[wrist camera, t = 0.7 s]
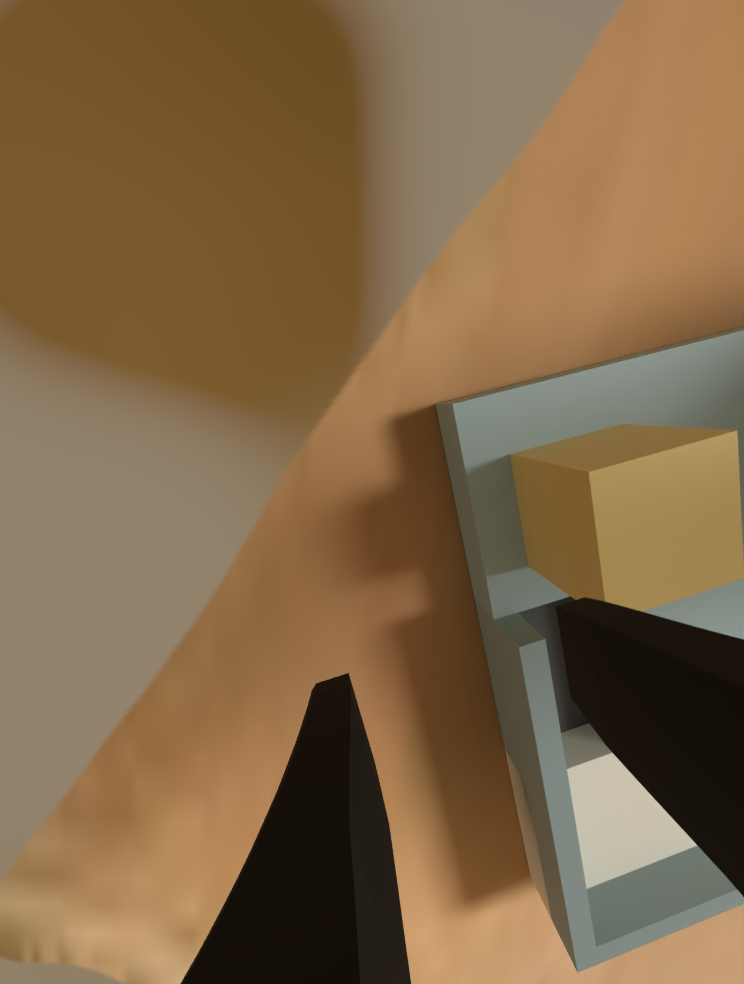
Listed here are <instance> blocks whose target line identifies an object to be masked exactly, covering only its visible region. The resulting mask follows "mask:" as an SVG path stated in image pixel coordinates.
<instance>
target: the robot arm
mask: <svg viewBox="0 0 744 984" xmlns="http://www.w3.org/2000/svg"><path fill="white" fill-rule="evenodd" d="M556 612H557V618H558V624H559V630H560V636H561V643H562V649H563V655H564V661H565V667H566V673H567V679H568V685H569V691H570V697H571V698H572V700H573V701H574V702H575V704H576V705H577V707H578V708H579V710H580V711H581V712H582V714H583V715H584V717H585V718H586V719H587V721H588V722H589V724H590V725H591V726H592V728H593V729H594V730H595V732H596V733H597V734H598V736H599V737H600V738H601V740H602V741H603V742H604V743H605V745H606V746H607V747H608V748H609V750H610V751H611V752H612V753H613V754H614V755H615V756H616V757H617V758H618V760H619V761H620V762H621V763H622V764H623V765H624V766H625V767H626V768H627V769H628V771H629V772H630V773H631V774H632V775H633V776H634V777H635V778H636V779H637V780H638V782H639V783H640V784H641V785H642V786H643V787H644V788H645V789H646V790H647V791H648V793H649V794H650V795H651V796H652V797H653V798H654V799H655V800H656V801H657V802H658V803H659V804H660V806H661V807H662V808H663V809H664V810H665V811H666V812H667V813H668V814H669V815H670V816H671V817H672V819H673V820H674V821H675V822H676V823H677V824H678V825H679V826H680V827H681V828H682V829H683V830H684V832H685V833H686V834H687V835H688V836H689V837H690V838H691V839H692V840H693V841H694V842H695V843H696V845H697V846H698V847H699V848H700V849H701V850H702V851H703V852H704V853H705V854H706V855H707V856H708V858H709V859H710V860H711V861H712V862H713V863H714V864H715V865H716V866H717V867H718V868H719V869H720V871H721V872H722V873H723V874H724V875H725V876H726V877H727V878H728V880H729V881H730V882H731V883H732V884H733V885H734V886H735V888H736V889H737V890H738V891H739V892H740V893H741V894H742V896H743V897H744V639H740V638H736V637H732V636H729V635H725V634H721V633H717V632H713V631H710V630H706V629H702V628H699V627H695V626H691V625H688V624H684V623H681V622H677V621H673V620H670V619H666V618H663V617H659V616H656V615H652V614H649V613H645V612H642V611H638V610H635V609H631V608H627V607H624V606H620V605H616V604H613V603H609V602H605V601H600V600H596V599H591V598H586V597H584V598H580V599H577V600H574V601H571V602H568V603H565V604H562V605H559V606H556ZM181 984H411V980H410V973H409V965H408V958H407V951H406V943H405V936H404V929H403V921H402V914H401V907H400V899H399V892H398V885H397V877H396V870H395V863H394V856H393V849H392V841H391V834H390V827H389V822H388V818H387V813H386V809H385V804H384V800H383V796H382V791H381V787H380V783H379V778H378V774H377V770H376V765H375V762H374V758H373V755H372V751H371V748H370V745H369V741H368V738H367V734H366V731H365V728H364V724H363V721H362V717H361V714H360V711H359V707H358V704H357V700H356V697H355V694H354V690H353V687H352V683H351V680H350V677H349V673H347V674H344V675H341V676H338V677H335V678H332V679H329V680H326V681H323V682H319V683H316V685H315V686H314V688H313V690H312V692H311V696H310V699H309V703H308V706H307V710H306V713H305V716H304V719H303V722H302V726H301V728H300V731H299V734H298V737H297V740H296V743H295V746H294V748H293V751H292V754H291V756H290V759H289V762H288V764H287V767H286V769H285V772H284V775H283V777H282V780H281V782H280V785H279V787H278V790H277V792H276V795H275V797H274V799H273V802H272V804H271V806H270V808H269V811H268V813H267V815H266V817H265V820H264V822H263V824H262V827H261V829H260V831H259V833H258V836H257V838H256V840H255V842H254V845H253V847H252V849H251V851H250V853H249V855H248V858H247V860H246V862H245V864H244V866H243V868H242V870H241V872H240V874H239V876H238V878H237V880H236V882H235V884H234V886H233V888H232V890H231V892H230V894H229V896H228V898H227V900H226V902H225V904H224V906H223V908H222V909H221V911H220V913H219V915H218V917H217V919H216V921H215V923H214V925H213V926H212V928H211V930H210V932H209V934H208V936H207V938H206V940H205V942H204V943H203V945H202V947H201V949H200V951H199V952H198V954H197V956H196V958H195V959H194V961H193V963H192V965H191V966H190V968H189V970H188V972H187V973H186V975H185V977H184V979H183V980H182V982H181Z"/></svg>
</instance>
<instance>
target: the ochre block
mask: <svg viewBox="0 0 744 984" xmlns="http://www.w3.org/2000/svg"><path fill="white" fill-rule="evenodd" d="M510 459H511V465H512V471H513V477H514V483H515V489H516V495H517V501H518V506H519V512H520V518H521V524H522V530H523V536H524V542H525V548H526V554H527V560H528V566H529V567H530V568H531V569H532V570H534V571H535V572H537V573H538V574H539V575H541V576H542V577H544V578H545V579H547V580H548V581H549V582H551V583H552V584H554V585H555V586H557V587H558V588H559V589H561V590H562V591H564V592H565V593H567V594H568V595H569V596H571V597H572V598H574V599H575V600H577V599H580V598H584V597H586V598H591V599H596V600H600V601H605V602H609V603H613V604H616V605H620V606H624V607H627V608H631V609H635V610H638V611H645V610H648V609H651V608H654V607H657V606H660V605H664V604H667V603H670V602H673V601H676V600H679V599H682V598H685V597H688V596H691V595H694V594H698V593H701V592H704V591H707V590H710V589H713V588H716V587H719V586H722V585H725V584H728V583H732V582H735V581H738V580H741V579H744V559H743V538H742V517H741V496H740V475H739V454H738V433H737V430H723V429H704V428H686V427H668V426H650V425H632V424H619V425H615V426H612V427H608V428H604V429H601V430H597V431H593V432H590V433H586V434H582V435H578V436H575V437H571V438H567V439H564V440H560V441H556V442H553V443H549V444H545V445H542V446H538V447H534V448H530V449H527V450H523V451H519V452H516V453H512V454H510Z"/></svg>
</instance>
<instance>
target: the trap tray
mask: <svg viewBox="0 0 744 984" xmlns="http://www.w3.org/2000/svg"><path fill="white" fill-rule="evenodd" d="M435 405H436V410H437V415H438V420H439V425H440V430H441V435H442V440H443V445H444V450H445V455H446V460H447V465H448V470H449V475H450V480H451V485H452V490H453V495H454V500H455V505H456V510H457V515H458V519H459V524H460V529H461V534H462V539H463V544H464V549H465V554H466V559H467V564H468V569H469V574H470V579H471V584H472V589H473V594H474V599H475V604H476V609H477V614H478V619H479V624H480V629H481V634H482V639H483V644H484V649H485V654H486V659H487V664H488V669H489V674H490V679H491V683H492V688H493V693H494V698H495V703H496V708H497V713H498V718H499V723H500V728H501V733H502V738H503V743H504V748H505V753H506V758H507V763H508V768H509V773H510V778H511V783H512V788H513V793H514V798H515V803H516V808H517V813H518V818H519V823H520V828H521V833H522V838H523V843H524V847H525V852H526V857H527V862H528V867H529V872H530V876H531V878H532V880H533V882H534V884H535V887H536V889H537V891H538V893H539V895H540V897H541V899H542V901H543V903H544V905H545V907H546V909H547V911H548V913H549V915H550V917H551V919H552V921H553V923H554V925H555V927H556V929H557V931H558V933H559V935H560V937H561V939H562V942H563V944H564V946H565V948H566V950H567V952H568V954H569V956H570V958H571V960H572V962H573V964H574V966H575V968H576V970H577V972H580V971H583V970H585V969H587V968H590V967H592V966H595V965H597V964H600V963H602V962H604V961H607V960H609V959H612V958H614V957H616V956H619V955H621V954H624V953H626V952H629V951H631V950H633V949H636V948H638V947H641V946H643V945H645V944H648V943H650V942H653V941H655V940H657V939H660V938H662V937H665V936H667V935H670V934H672V933H674V932H677V931H679V930H682V929H684V928H686V927H689V926H691V925H694V924H696V923H699V922H701V921H703V920H706V919H708V918H711V917H713V916H715V915H718V914H720V913H723V912H725V911H728V910H730V909H732V908H735V907H737V906H740V905H742V904H744V897H743V896H742V894H741V893H740V892H739V891H738V890H737V889H736V888H735V886H734V885H733V884H732V883H731V882H730V881H729V880H728V878H727V877H726V876H725V875H724V874H723V873H722V872H721V871H720V869H719V868H718V867H717V866H716V865H715V864H714V863H713V862H712V861H711V860H710V859H709V858H708V856H707V855H706V854H705V853H704V852H703V851H702V850H701V849H700V848H699V847H698V846H697V845H696V843H695V842H694V841H693V840H692V839H691V838H690V837H689V836H688V835H687V834H686V833H685V832H684V830H683V829H682V828H681V827H680V826H679V825H678V824H677V823H676V822H675V821H674V820H673V819H672V817H671V816H670V815H669V814H668V813H667V812H666V811H665V810H664V809H663V808H662V807H661V806H660V804H659V803H658V802H657V801H656V800H655V799H654V798H653V797H652V796H651V795H650V794H649V793H648V791H647V790H646V789H645V788H644V787H643V786H642V785H641V784H640V783H639V782H638V780H637V779H636V778H635V777H634V776H633V775H632V774H631V773H630V772H629V771H628V769H627V768H626V767H625V766H624V765H623V764H622V763H621V762H620V761H619V760H618V758H617V757H616V756H615V755H614V754H613V753H612V752H611V751H610V750H609V748H608V747H607V746H606V745H605V743H604V742H603V741H602V740H601V738H600V737H599V736H598V734H597V733H596V732H595V730H594V729H593V728H592V726H591V725H590V724H589V722H588V721H587V719H586V718H585V717H584V715H583V714H582V712H581V711H580V710H579V708H578V707H577V705H576V704H575V702H574V701H573V700H572V698H571V697H570V691H569V685H568V679H567V673H566V667H565V661H564V655H563V649H562V643H561V636H560V630H559V624H558V618H557V612H556V606H559V605H562V604H565V603H568V602H571V601H574V600H575V599H574V598H572V597H571V596H569V595H568V594H567V593H565V592H564V591H562V590H561V589H559V588H558V587H557V586H555V585H554V584H552V583H551V582H549V581H548V580H547V579H545V578H544V577H542V576H541V575H539V574H538V573H537V572H535V571H534V570H532V569H531V568H530V567H529V566H528V560H527V554H526V548H525V542H524V536H523V530H522V524H521V518H520V512H519V506H518V501H517V495H516V489H515V483H514V477H513V471H512V465H511V459H510V454H512V453H516V452H519V451H523V450H527V449H530V448H534V447H538V446H542V445H545V444H549V443H553V442H556V441H560V440H564V439H567V438H571V437H575V436H578V435H582V434H586V433H590V432H593V431H597V430H601V429H604V428H608V427H612V426H615V425H619V424H632V425H650V426H668V427H686V428H704V429H723V430H737V433H738V454H739V475H740V496H741V517H742V538H743V559H744V326H743V327H739V328H736V329H732V330H728V331H724V332H720V333H716V334H712V335H708V336H704V337H700V338H696V339H692V340H688V341H684V342H680V343H676V344H672V345H668V346H664V347H660V348H656V349H652V350H648V351H644V352H641V353H637V354H633V355H629V356H625V357H621V358H617V359H613V360H609V361H605V362H601V363H597V364H593V365H589V366H585V367H581V368H577V369H573V370H569V371H565V372H561V373H557V374H553V375H549V376H546V377H542V378H538V379H534V380H530V381H526V382H522V383H518V384H514V385H510V386H506V387H502V388H498V389H494V390H490V391H486V392H482V393H478V394H474V395H470V396H466V397H462V398H458V399H454V400H451V401H447V402H443V403H439V404H435ZM642 612H645V613H649V614H652V615H656V616H659V617H663V618H666V619H670V620H673V621H677V622H681V623H684V624H688V625H691V626H695V627H699V628H702V629H706V630H710V631H713V632H717V633H721V634H725V635H729V636H732V637H736V638H740V639H744V579H741V580H738V581H735V582H732V583H728V584H725V585H722V586H719V587H716V588H713V589H710V590H707V591H704V592H701V593H698V594H694V595H691V596H688V597H685V598H682V599H679V600H676V601H673V602H670V603H667V604H664V605H660V606H657V607H654V608H651V609H648V610H645V611H642Z"/></svg>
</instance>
